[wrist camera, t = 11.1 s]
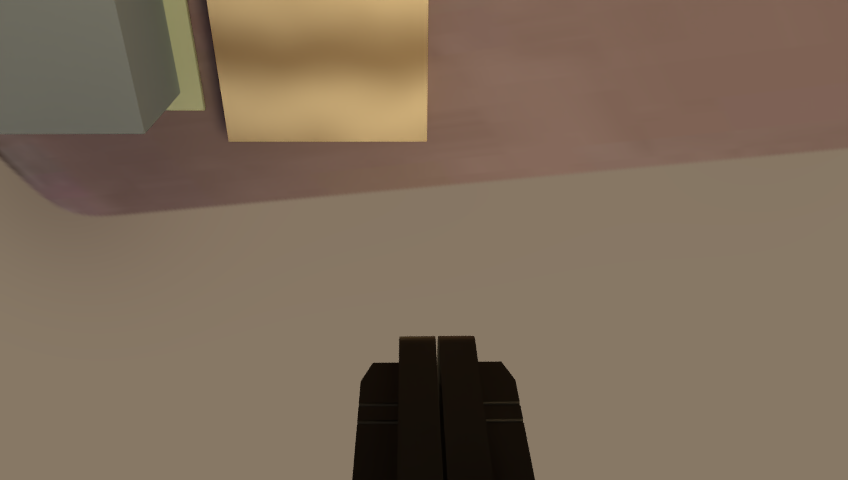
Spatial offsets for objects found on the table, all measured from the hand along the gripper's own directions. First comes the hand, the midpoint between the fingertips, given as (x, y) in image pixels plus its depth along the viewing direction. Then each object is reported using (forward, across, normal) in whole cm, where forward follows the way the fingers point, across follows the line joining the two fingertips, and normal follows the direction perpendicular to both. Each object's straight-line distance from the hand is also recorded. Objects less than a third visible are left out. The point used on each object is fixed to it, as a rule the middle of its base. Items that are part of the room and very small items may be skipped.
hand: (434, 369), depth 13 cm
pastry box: (+27, +17, 0) cm, 32 cm away
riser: (+27, +5, 0) cm, 27 cm away
